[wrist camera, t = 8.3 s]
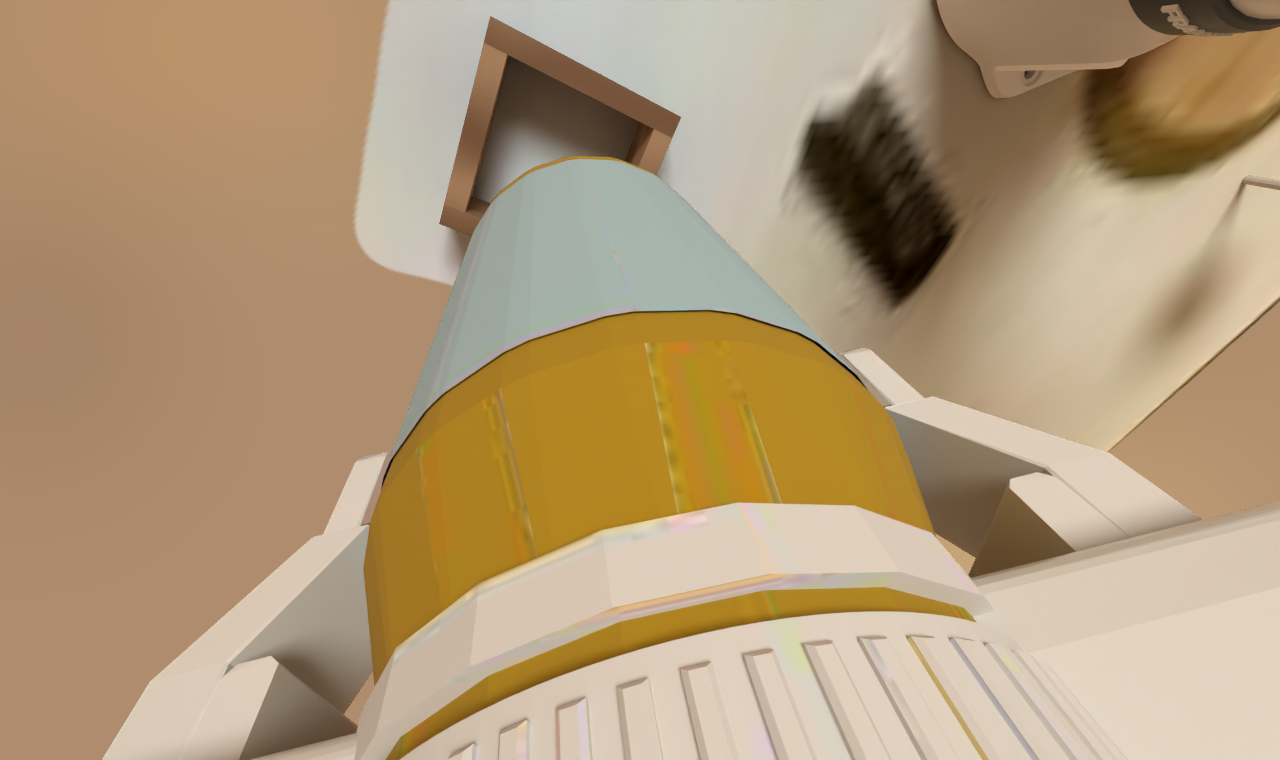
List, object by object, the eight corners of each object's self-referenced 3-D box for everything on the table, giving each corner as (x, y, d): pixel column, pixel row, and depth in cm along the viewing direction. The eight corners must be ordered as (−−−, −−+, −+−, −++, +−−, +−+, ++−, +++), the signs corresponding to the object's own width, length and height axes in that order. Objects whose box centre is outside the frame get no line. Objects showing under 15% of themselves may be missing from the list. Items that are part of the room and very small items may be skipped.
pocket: (495, 20, 27) (490, 16, 24) (665, 110, 32) (681, 117, 28) (448, 206, 32) (439, 224, 29) (601, 263, 36) (608, 284, 33)
